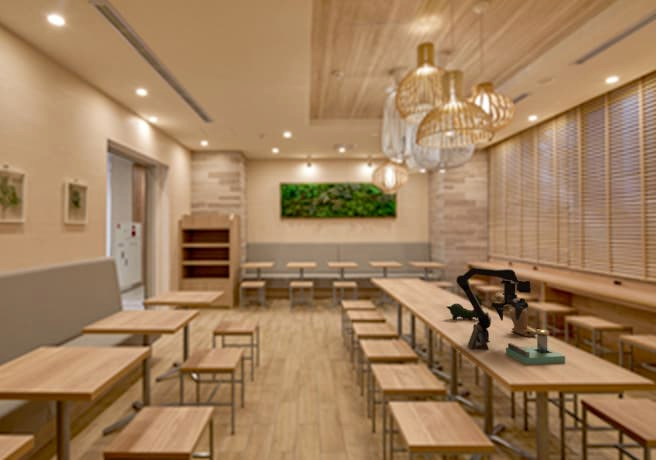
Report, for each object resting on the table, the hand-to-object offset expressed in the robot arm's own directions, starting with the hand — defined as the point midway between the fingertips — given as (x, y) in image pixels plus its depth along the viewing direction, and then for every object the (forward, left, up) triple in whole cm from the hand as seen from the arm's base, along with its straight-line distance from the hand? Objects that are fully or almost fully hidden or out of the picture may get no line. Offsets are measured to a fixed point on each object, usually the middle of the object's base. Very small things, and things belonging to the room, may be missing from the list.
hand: (509, 320), depth 212 cm
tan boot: (+20, +18, -13) cm, 30 cm away
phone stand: (-21, -4, -13) cm, 25 cm away
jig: (-2, -23, -13) cm, 26 cm away
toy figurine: (+4, +58, -13) cm, 60 cm away
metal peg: (+2, -23, -13) cm, 26 cm away
